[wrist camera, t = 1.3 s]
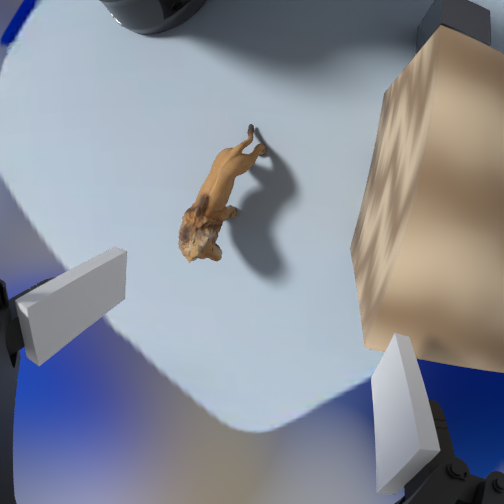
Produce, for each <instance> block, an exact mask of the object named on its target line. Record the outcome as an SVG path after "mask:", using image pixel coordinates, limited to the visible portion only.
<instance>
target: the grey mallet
mask: <svg viewBox="0 0 504 504" xmlns="http://www.w3.org/2000/svg"><path fill="white" fill-rule="evenodd" d="M440 25H442V26H444V27H447V28H449V29H452V30H454V31H457V32H459V33H462V34H464V35H466V36H468V37H471V38H473V39H475V40H477V41H479V42H481V43H484V44H486V45H488V46H489V45H491V26H490V11H489V10H487V9H485V8H483V7H481V6H479V5H477V4H475V3H473V2H470V1H468V0H435V1H434V3H433V4H432V6H431V7H430V9H429V10H428V12H427V13H426V15H425V17H424V18H423V20H422V21H421V23H420V24H419V26H418V35H417V47H416V54H417V53H418V52H419V51H420V49H421V48H422V47H423V46H424V45H425V43H426V42H427V41H428V40H429V38H430V37H431V36H432V35H433V34H434V32H435V31H436V30H437V29H438V27H439V26H440Z"/></svg>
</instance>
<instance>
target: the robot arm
mask: <svg viewBox="0 0 504 504" xmlns="http://www.w3.org/2000/svg"><path fill="white" fill-rule="evenodd" d="M100 1H102V3H103V4H104V5H105V6H106V8H107V9H108V10H109V11H110V13H111V15H112V16H113V18H114V19H115V21H116V22H117V23H119V24H120V25H121V26H123V27H125V28H127V29H129V30H131V31H133V32H136V33H140V34H154V33H159V32H163V31H166V30H169V29H171V28H173V27H175V26H177V25H179V24H181V23H182V22H184V21H185V20H187V19H188V18H190V17H191V16H192V15H193V14H195V13H196V12H197V11H198V10H199V9H200V8H201V7H202V5H203V4H204V3H205V2H206V0H100ZM126 263H127V251H126V250H123V249H120V248H118V247H114V248H112V249H110V250H108V251H106V252H104V253H102V254H100V255H98V256H96V257H94V258H92V259H90V260H88V261H86V262H84V263H82V264H80V265H78V266H76V267H74V268H73V269H71V270H69V271H67V272H65V273H63V274H61V275H59V276H58V277H54V278H50V279H46V280H44V281H42V282H40V283H38V284H37V285H35V286H33V287H31V288H30V289H27V290H25V291H24V292H22V293H20V294H18V295H16V296H15V297H13V298H11V299H10V300H8V295H7V289H6V284H5V282H4V281H2V280H0V504H16V500H15V496H14V484H13V483H14V482H13V424H14V423H13V422H14V407H15V397H16V387H17V379H18V371H19V364H20V351H19V350H20V349H22V348H23V347H24V346H25V350H26V354H27V358H29V359H30V360H31V361H33V362H34V363H35V364H37V365H38V366H40V365H41V364H43V363H44V362H45V361H46V360H47V359H49V358H50V357H51V356H52V355H53V354H55V353H56V352H57V351H59V350H60V349H61V348H62V347H64V346H65V345H66V344H67V343H69V342H70V341H71V340H72V339H74V338H75V337H76V336H77V335H79V334H80V333H81V332H83V331H84V330H85V329H86V328H88V327H89V326H90V325H92V324H93V323H94V322H95V321H97V320H98V319H99V318H101V317H102V316H103V315H104V314H106V313H107V312H108V311H110V310H111V309H112V308H114V307H115V306H116V305H117V304H119V303H120V302H121V301H123V300H124V299H125V285H126ZM371 384H372V395H373V408H374V423H375V443H376V493H381V494H393V495H395V494H396V493H398V492H399V491H400V490H401V489H402V488H403V487H404V488H405V496H404V497H402V498H401V499H400V500H399V501H397V502H396V503H395V504H504V474H503V473H501V472H498V471H495V472H491V473H490V474H489V475H488V476H487V477H486V478H485V479H483V478H480V477H477V476H474V475H471V474H470V472H469V468H468V467H467V465H466V464H465V463H464V462H463V461H462V460H461V459H459V458H457V457H455V454H454V450H453V446H452V442H451V438H450V434H449V431H448V430H447V429H448V427H447V423H446V422H445V421H446V419H445V416H444V412H443V410H442V408H441V407H440V406H439V404H438V403H437V401H432V400H428V397H427V394H426V390H425V386H424V383H423V379H422V376H421V372H420V369H419V366H418V363H417V359H416V356H415V353H414V350H413V347H412V344H411V341H410V338H409V336H405V335H401V334H397V333H394V335H393V337H392V339H391V341H390V343H389V345H388V347H387V349H386V351H385V353H384V355H383V357H382V359H381V361H380V363H379V365H378V367H377V368H376V370H375V372H374V374H373V376H372V377H371Z"/></svg>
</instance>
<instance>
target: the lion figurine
mask: <svg viewBox="0 0 504 504" xmlns="http://www.w3.org/2000/svg"><path fill="white" fill-rule="evenodd" d="M253 133H254V126H253V125H252V124H250V125H249V129H248V136H249V137H248V139H247V140H246V141H244V142H242V143H241V144H239V145H237V146H236V147H234V148H226V149H224V150H222V151H221V152H220V153H219V154H218V155H217V157H216V158H215V160H214V162H213V165H212V168H211V171H210V173H209V175H208V177H207V178H206V180H205V182H204V184H203V185H202V187H201V189H200V191H199V194H198V197H197V199H196V202H195V203H194V204H193V205H192V207H191V208H189V209H188V210H187V211H186V212H185V214H184V216H183V217H182V219H183V222H182V225H181V228H180V230H179V234H180V235H179V243H178V244H179V249H180V250H181V252H182V254H183V256H185V257H186V258H187V259H188V263H190V262H191V261H194V260H196V259H197V258H200V259H205V258H210V259H211V260H214V261H219V260H220V259H221V257H222V256H221V255H222V250H221V249H220V247H219V246H218V245H217V244H216V243H215V242H216V240H217V238H218V232H219V231H220V229H221V226H222V222H223V221H225V220H226V219H227V218H228V217H229V218H234V217H235V216H236V215H237V213H236V210H235V208H234V207H232V206H231V205H229V206H227V207H226V206H225V205H226V204H227V202H228V199H229V196H230V194H231V191H232V188H233V185H234V179H235V177H236V176H238V175H241V174H243V173H245V172H246V171H247V170H248V169H250V168H251V167H252V165H253V164H254V163H255V161H256V159H257V157H258V156H260V155H261V156H262V155H264V154H265V153H266V147H265V146H264V145H263V144H261V143H260V144H258V145H257V146H256V147H255V148H254V150H253V152H252V153H250V154H242V150H243V149H244V148H245V147H247V146H248V145H249V144H250V143H251V142H252V141H253Z"/></svg>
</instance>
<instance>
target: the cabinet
mask: <svg viewBox="0 0 504 504" xmlns="http://www.w3.org/2000/svg"><path fill="white" fill-rule="evenodd" d="M350 250H351V256H352V262H353V267H354V273H355V280H356V286H357V293H358V299H359V306H360V314H361V321H362V329H363V338H364V347H365V348H369V349H373V350H378V351H382V352H385V351H386V349H387V347H388V345H389V343H390V341H391V339H392V337H393V335H394V333H397V334H401V335H405V336H409V338H410V341H411V344H412V347H413V350H414V353H415V356H416V358H417V359H423V360H428V361H433V362H438V363H444V364H450V365H455V366H461V367H468V368H474V369H480V370H487V371H494V372H501V373H504V54H503V53H501V52H499V51H498V50H496V49H494V48H492V47H490V46H488V45H486V44H484V43H481V42H479V41H477V40H475V39H473V38H471V37H468V36H466V35H464V34H462V33H459V32H457V31H454V30H452V29H449V28H447V27H444V26H442V25H440V26H439V27H438V29H437V30H436V31H435V32H434V34H433V35H432V36H431V37H430V38H429V40H428V41H427V42H426V43H425V45H424V46H423V47H422V48H421V49H420V51H419V52H418V53H417V54H416V55H415V57H414V58H413V59H412V60H411V62H410V63H409V64H408V65H407V66H406V68H405V69H404V70H403V71H402V72H401V74H400V75H399V76H398V77H397V79H396V80H395V81H394V82H393V83H392V85H391V86H390V87H389V88H388V90H387V91H386V92H385V93H384V98H383V105H382V110H381V116H380V122H379V127H378V132H377V138H376V143H375V148H374V153H373V157H372V162H371V167H370V171H369V176H368V180H367V185H366V189H365V193H364V197H363V202H362V206H361V210H360V214H359V218H358V221H357V225H356V229H355V233H354V237H353V240H352V244H351V248H350Z"/></svg>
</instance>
